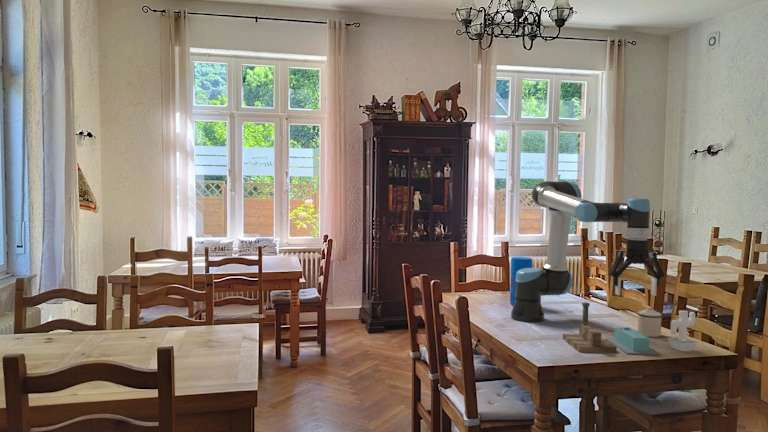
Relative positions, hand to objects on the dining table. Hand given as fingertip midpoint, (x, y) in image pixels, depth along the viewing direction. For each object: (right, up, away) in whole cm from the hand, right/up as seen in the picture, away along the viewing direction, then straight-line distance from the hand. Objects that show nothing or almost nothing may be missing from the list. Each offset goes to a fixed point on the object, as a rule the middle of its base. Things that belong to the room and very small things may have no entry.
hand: (635, 295), depth 202 cm
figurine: (+18, -21, +1) cm, 28 cm away
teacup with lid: (+16, -20, +24) cm, 35 cm away
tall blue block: (-24, -17, +78) cm, 83 cm away
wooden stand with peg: (-16, -20, +5) cm, 26 cm away
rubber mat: (0, -21, +4) cm, 21 cm away
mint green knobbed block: (0, -20, +4) cm, 20 cm away
